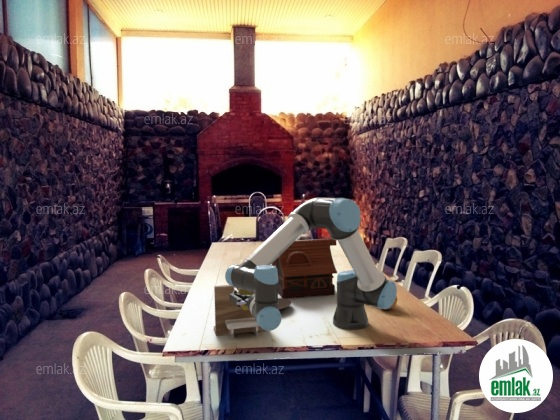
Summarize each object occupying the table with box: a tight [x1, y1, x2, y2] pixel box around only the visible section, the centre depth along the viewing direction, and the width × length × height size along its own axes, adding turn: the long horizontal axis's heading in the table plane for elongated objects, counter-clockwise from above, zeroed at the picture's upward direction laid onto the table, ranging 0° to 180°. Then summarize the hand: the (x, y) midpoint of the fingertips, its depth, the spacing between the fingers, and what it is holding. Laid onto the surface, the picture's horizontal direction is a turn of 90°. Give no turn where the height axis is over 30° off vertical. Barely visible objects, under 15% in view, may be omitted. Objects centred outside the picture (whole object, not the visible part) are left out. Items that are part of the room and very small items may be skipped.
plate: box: [278, 297, 292, 311], centre depth 216 cm, size 28×28×4 cm
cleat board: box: [213, 284, 266, 339], centre depth 184 cm, size 15×22×20 cm
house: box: [271, 238, 338, 300], centre depth 245 cm, size 35×28×29 cm
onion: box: [380, 295, 398, 311], centre depth 213 cm, size 10×10×10 cm
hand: (247, 289), depth 174 cm, fingers closed on flower pot, 9 cm apart
